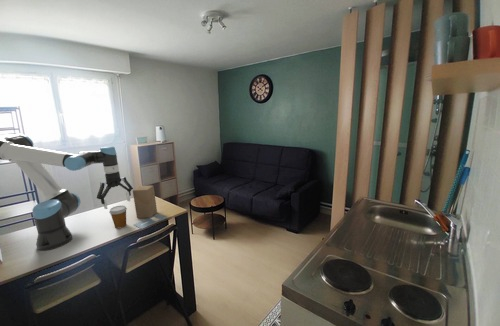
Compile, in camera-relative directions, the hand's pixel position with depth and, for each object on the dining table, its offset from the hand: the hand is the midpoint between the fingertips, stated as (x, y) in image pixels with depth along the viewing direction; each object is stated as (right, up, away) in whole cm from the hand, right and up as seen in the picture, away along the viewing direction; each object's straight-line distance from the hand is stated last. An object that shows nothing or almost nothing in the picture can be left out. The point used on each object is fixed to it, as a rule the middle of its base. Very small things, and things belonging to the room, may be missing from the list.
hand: (117, 204), depth 138 cm
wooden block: (+10, -11, +17) cm, 23 cm away
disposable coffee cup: (0, -14, +3) cm, 15 cm away
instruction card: (+17, -13, +8) cm, 23 cm away
